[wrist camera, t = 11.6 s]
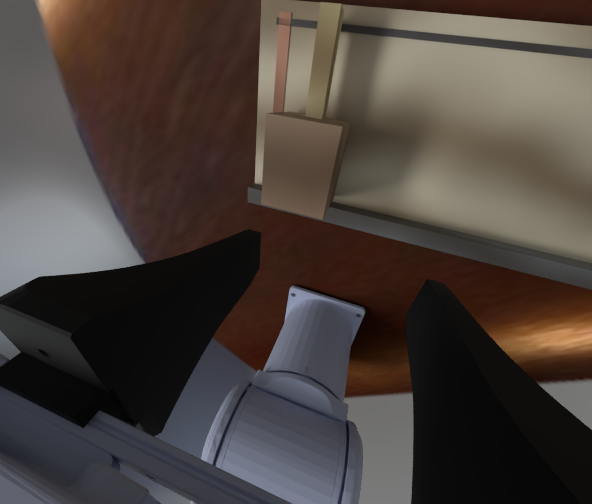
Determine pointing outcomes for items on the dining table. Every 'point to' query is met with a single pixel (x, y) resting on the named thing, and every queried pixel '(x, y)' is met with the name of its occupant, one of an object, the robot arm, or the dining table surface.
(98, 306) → the robot arm
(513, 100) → the cream flat tray
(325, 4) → the marking gauge
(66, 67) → the dining table surface
